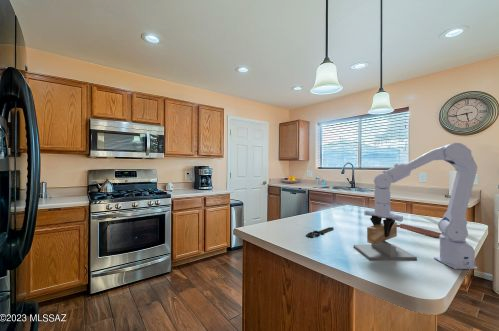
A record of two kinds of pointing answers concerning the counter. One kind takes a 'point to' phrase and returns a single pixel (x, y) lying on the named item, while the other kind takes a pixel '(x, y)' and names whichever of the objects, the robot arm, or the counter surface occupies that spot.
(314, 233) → the black spatula
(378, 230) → the wooden block
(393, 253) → the stand
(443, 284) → the counter surface
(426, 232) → the wooden tablet
